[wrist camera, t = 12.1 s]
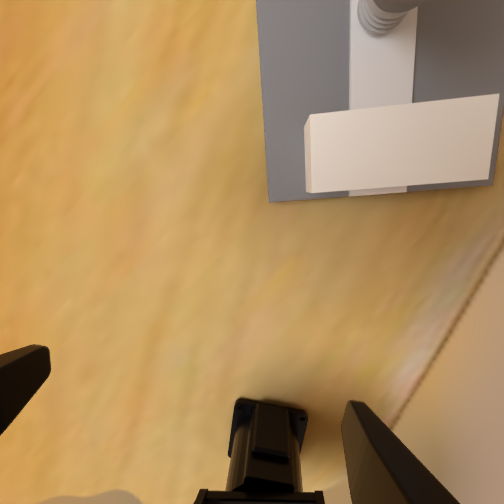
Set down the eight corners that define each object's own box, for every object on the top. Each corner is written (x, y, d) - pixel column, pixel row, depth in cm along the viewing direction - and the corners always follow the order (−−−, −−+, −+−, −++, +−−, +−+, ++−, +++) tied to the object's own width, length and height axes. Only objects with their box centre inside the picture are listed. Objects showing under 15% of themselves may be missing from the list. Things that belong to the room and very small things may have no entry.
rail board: (478, 185, 17) (539, 185, 13) (269, 201, 19) (267, 205, 15) (531, -239, 13) (652, -441, 9) (245, -173, 14) (233, -317, 10)
